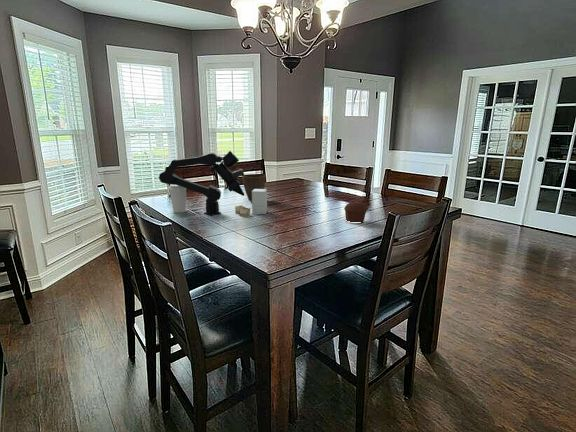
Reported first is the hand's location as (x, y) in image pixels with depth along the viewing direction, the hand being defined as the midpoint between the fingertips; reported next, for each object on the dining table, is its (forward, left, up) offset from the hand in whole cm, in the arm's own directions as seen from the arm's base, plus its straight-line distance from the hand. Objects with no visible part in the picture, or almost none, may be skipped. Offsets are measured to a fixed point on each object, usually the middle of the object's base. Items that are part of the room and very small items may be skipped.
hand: (243, 195), depth 183 cm
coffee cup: (-18, +31, -10) cm, 37 cm away
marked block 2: (-4, -4, -10) cm, 12 cm away
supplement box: (+6, -6, -10) cm, 13 cm away
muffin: (+20, -56, -10) cm, 61 cm away
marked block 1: (-2, +1, -10) cm, 10 cm away
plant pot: (+29, +16, -10) cm, 34 cm away
